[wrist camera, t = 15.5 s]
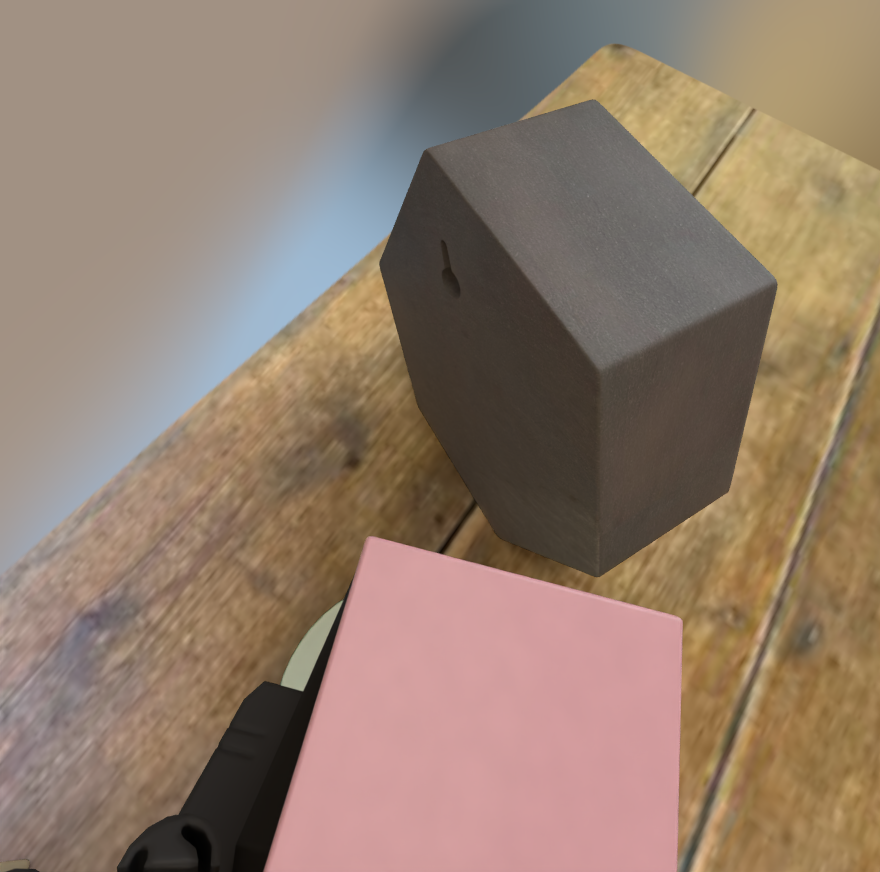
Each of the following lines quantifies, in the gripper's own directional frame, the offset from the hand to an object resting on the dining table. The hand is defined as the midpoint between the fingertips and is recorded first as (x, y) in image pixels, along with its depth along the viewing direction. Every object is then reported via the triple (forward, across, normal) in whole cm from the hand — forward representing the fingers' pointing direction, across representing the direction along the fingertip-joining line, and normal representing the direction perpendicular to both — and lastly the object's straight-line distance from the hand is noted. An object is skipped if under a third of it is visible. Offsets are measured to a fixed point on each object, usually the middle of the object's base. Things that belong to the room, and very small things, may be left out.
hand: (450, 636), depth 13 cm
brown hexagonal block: (+20, +2, -1) cm, 20 cm away
